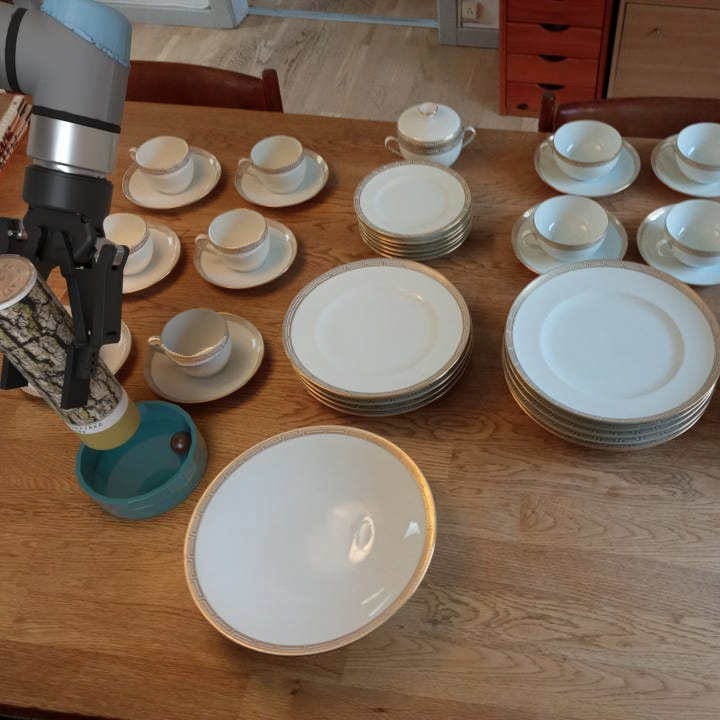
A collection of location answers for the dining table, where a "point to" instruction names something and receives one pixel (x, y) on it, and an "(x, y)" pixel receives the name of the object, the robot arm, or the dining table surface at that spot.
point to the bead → (181, 442)
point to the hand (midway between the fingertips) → (43, 396)
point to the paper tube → (57, 356)
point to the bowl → (145, 465)
